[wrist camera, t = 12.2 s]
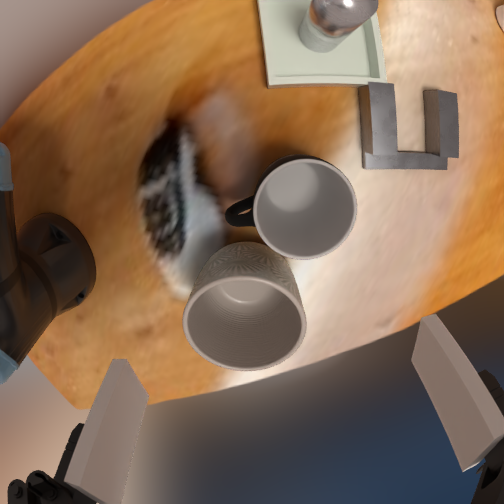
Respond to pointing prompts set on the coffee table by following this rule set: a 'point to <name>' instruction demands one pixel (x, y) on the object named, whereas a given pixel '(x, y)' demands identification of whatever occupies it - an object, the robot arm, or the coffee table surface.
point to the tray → (313, 63)
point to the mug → (299, 207)
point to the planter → (245, 309)
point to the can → (500, 16)
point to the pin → (333, 22)
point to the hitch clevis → (385, 129)
